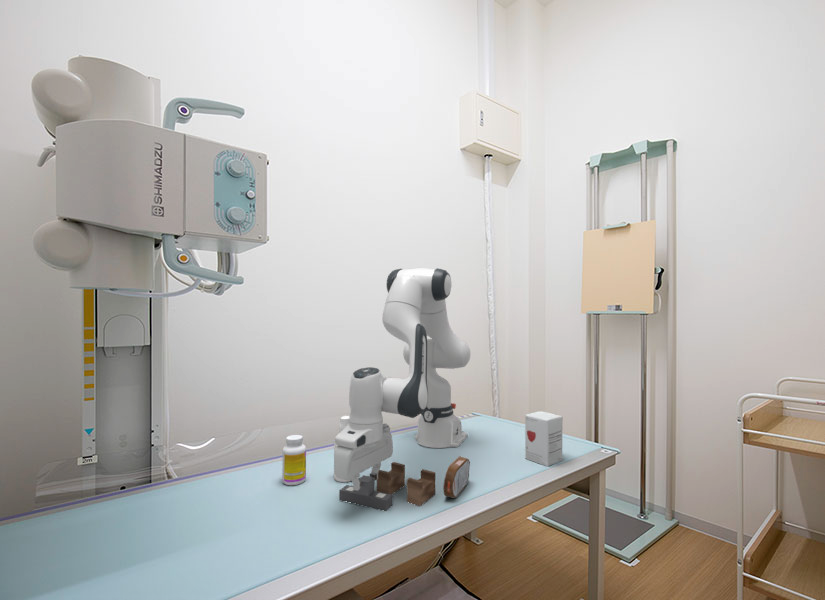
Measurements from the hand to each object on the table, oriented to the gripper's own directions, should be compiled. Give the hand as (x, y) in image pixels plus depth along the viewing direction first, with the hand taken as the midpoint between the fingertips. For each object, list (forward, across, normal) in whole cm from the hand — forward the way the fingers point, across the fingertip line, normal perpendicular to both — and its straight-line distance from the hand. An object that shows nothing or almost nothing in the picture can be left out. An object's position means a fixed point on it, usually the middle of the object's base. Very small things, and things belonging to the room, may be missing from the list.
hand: (365, 484), depth 107 cm
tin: (+5, -19, +17) cm, 26 cm away
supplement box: (+5, -56, +31) cm, 64 cm away
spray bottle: (+5, -9, -15) cm, 18 cm away
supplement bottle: (+5, +1, -26) cm, 26 cm away
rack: (+5, -10, +6) cm, 13 cm away
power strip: (+5, 0, 0) cm, 5 cm away
